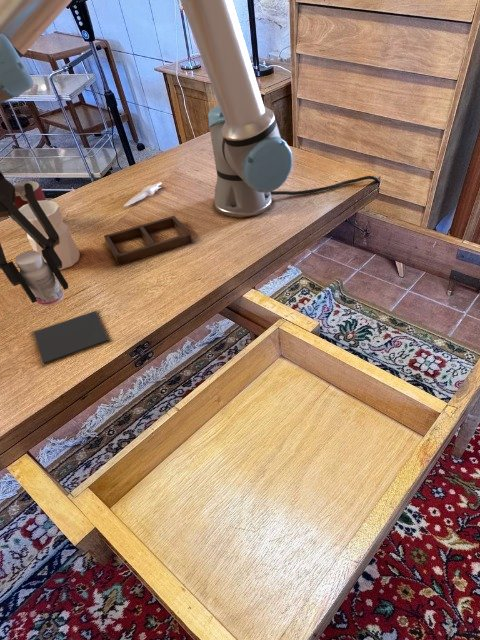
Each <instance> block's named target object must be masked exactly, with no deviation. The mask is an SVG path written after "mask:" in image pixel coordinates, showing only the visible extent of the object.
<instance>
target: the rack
mask: <svg viewBox="0 0 480 640" xmlns="http://www.w3.org/2000/svg"><path fill="white" fill-rule="evenodd" d="M173 226H174V227H175V229H176V230H177V232H179V233H180V235H179V236H174V237H170V238H168V239H165V240H162V241H158V242H155V241H154V240H153V238H152V237H151V236H150V233H153V232H157V231H160V230H164V229H166V228H170V227H173ZM188 231H189V230H187V229H186V228H185V227H184V225H183V223H181V222H180V221H179V219H178V218H177V217H176V216H175V215H171V216H168V217H164V218H161V219H157V220H154V221H149V222H147V223H143V224H139V225H137V226H133V227H129V228H126V229H122V230H120V231H115V232H111V233H107V234H104V235H103V238H104V241H105V243H106V245H107V247H108V249H109V250H110V252H111V253H112V255H113V257H114V259H115V261H116V262H117V264H118V265H119V266H120V265H123V264H126V263H129V262H133V261H136V260H140V259H143V258H146V257H150V256H152V255H156V254H159V253H162V252H165V251H168V250H171V249H175V248H178V247H182V246H185V245H188V244H191V243H193V239H192V236H191V234H190V232H188ZM139 236H141V237H142V238H143V240H144V241H145V242H146V244H147V245H145V246H141V247H138V248H135V249H131V250H128V251H125V252H121V253H119V251H118V249H117V248H116V246H115V243H118V242H122V241H125V240H129V239H132V238H133V239H134V238H136V237H139Z"/></svg>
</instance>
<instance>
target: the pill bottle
mask: <svg viewBox="0 0 480 640" xmlns="http://www.w3.org/2000/svg"><path fill="white" fill-rule="evenodd" d="M14 261H15V264H16V267H17V268H18V269H19V272H20V274H21V275H22V277H23V278H24V280H25V282H26V283H27V285H28V286H29V288H30V289H31V291H32V292H33V294H34V295H35V297H36V300H37V302H36V304H38V305H39V306H41V307H50V306H53V305H56V304H58V303H60V302H61V301H63V298H64V297H65V293H64V290H63V288H62V286H61V284H60V283H59V281H58V279H57V278H56V276H55V275H54V273H53V272H52V270H51V268H50V266H49V265H48V263H46V262H44V260H43V258H42V256H41V254H40V253H39V252H37V251H34V250H27V251H24V252H22V253H20V254H18V255H17V256H16V257H15V259H14Z"/></svg>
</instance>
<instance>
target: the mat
mask: <svg viewBox="0 0 480 640" xmlns="http://www.w3.org/2000/svg"><path fill="white" fill-rule="evenodd" d="M33 334H34V337H35V341H36V344H37V347H38V350H39V353H40V357H41V360H42V364H43V365H46V364H49V363H52V362H54V361H57V360H60V359H62V358H63V359H64V358H65V357H68V356H72V355H74V354H76V353H79V352H82V351H84V350H88V349H90V348H93V347H96V346H99V345H102V344H105V343H107V342H110V340H109V338H108V335H107V333H106V332H105V330H104V327H103V325H102V322H101V320H100V318H99V316H98V313H97V312H96V311H95V310H94V311H91V312H89V313H86V314H83V315H80V316H77V317H76V316H75V317H73V318H71V319H68V320H64V321H62V322H59V323H56V324H52V325H50V326H47V327H44V328H40V329H38V330H35V331H33Z"/></svg>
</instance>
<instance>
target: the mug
mask: <svg viewBox="0 0 480 640" xmlns="http://www.w3.org/2000/svg"><path fill="white" fill-rule="evenodd" d="M26 183H29V184H31V185H32V187H33V191H34V196H35V198H36V200H37V201H44V200H47V199H46V195H45V193H44V190H43V189H42V186H41V185H40V183H39V182H37V181H35V180H23V181H19V182H15V183H12V184H13V185H14V186H24V185H25V184H26ZM26 204H28V201H24V200H22V198H21V196H19V195H17V194H16V197H15V206H16V207H17V208H18V209H20V208H21V207H22V206H24V205H26Z"/></svg>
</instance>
